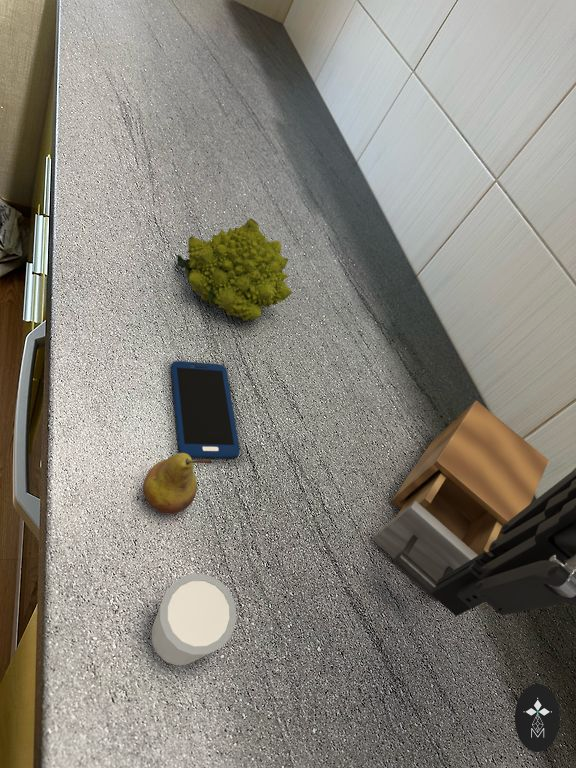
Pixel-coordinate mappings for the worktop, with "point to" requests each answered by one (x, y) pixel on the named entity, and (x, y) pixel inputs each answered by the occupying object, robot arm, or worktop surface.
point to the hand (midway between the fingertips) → (447, 597)
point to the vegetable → (237, 270)
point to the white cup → (193, 619)
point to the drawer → (437, 531)
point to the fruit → (171, 484)
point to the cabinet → (481, 464)
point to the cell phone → (204, 410)
